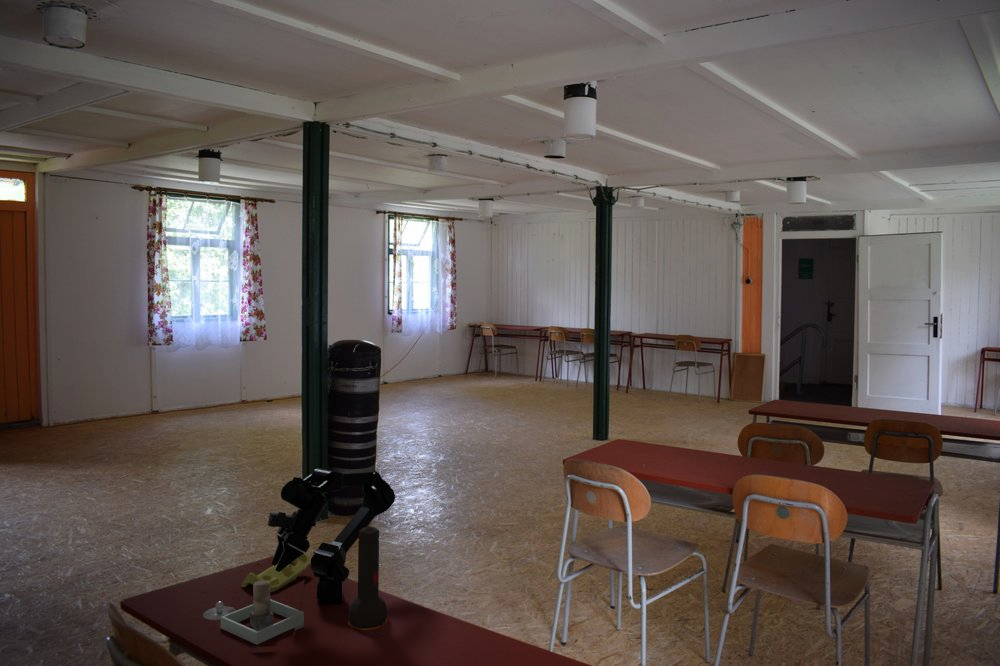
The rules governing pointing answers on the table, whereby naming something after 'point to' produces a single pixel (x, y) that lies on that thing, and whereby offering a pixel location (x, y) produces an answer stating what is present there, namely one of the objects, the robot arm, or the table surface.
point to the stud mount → (218, 611)
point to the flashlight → (368, 583)
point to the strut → (261, 606)
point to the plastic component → (279, 574)
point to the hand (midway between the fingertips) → (274, 568)
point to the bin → (293, 620)
